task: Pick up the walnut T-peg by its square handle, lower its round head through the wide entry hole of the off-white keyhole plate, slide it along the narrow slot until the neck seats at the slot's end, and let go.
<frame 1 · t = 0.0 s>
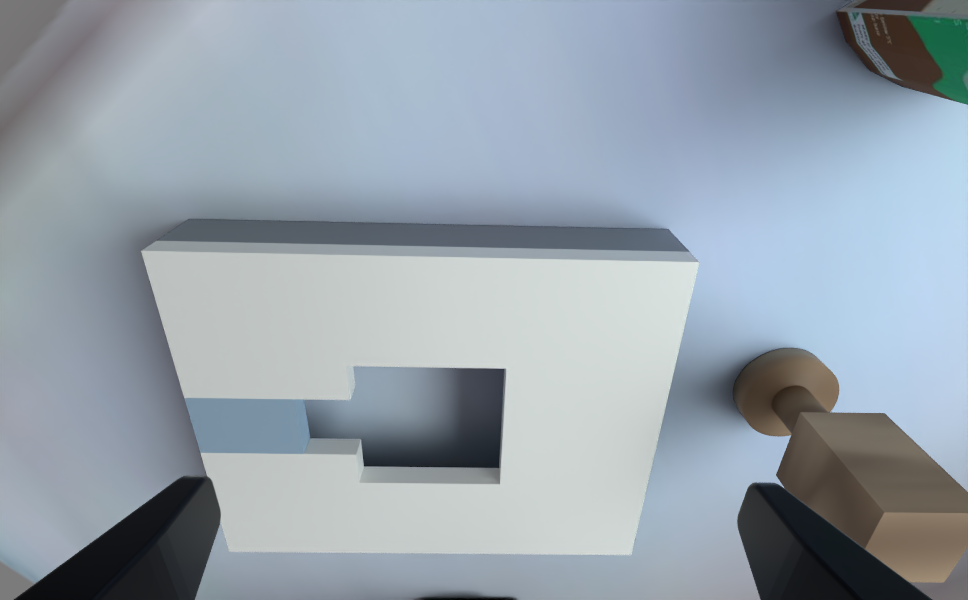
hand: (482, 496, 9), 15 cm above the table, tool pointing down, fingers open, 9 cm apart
keyhole plate: (434, 380, 26), on the table
T-peg: (778, 385, 26), on the table
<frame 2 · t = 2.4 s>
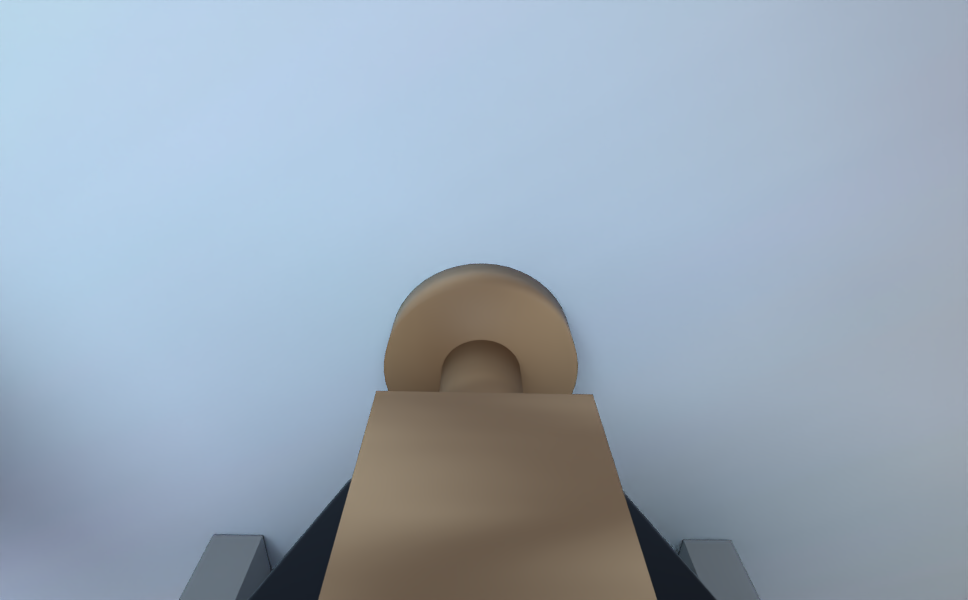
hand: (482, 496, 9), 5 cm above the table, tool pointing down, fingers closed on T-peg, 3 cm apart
T-peg: (480, 345, 13), on the table, touching gripper
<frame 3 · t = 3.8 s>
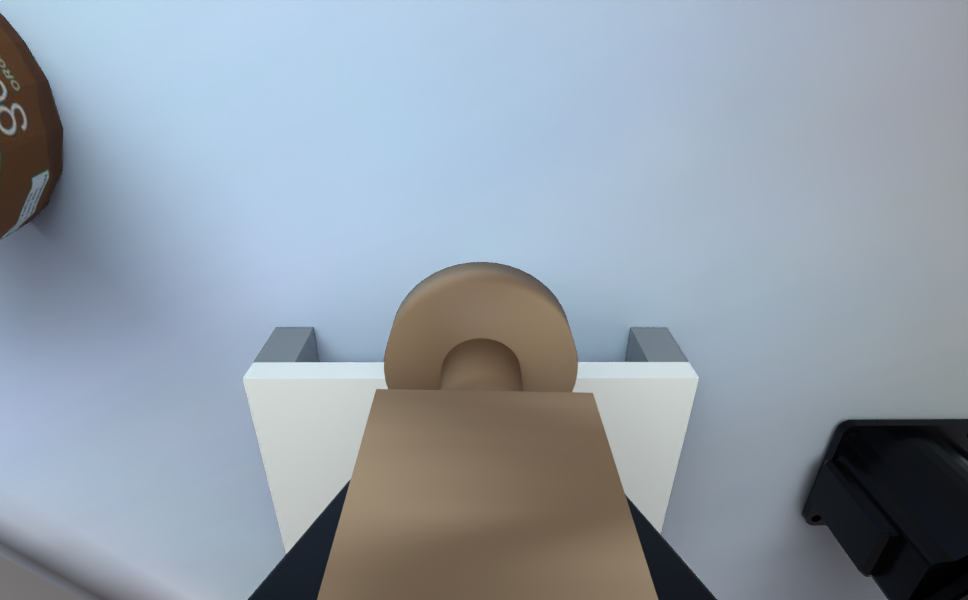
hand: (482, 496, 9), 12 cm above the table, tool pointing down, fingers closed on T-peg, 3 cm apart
keyhole plate: (472, 500, 26), on the table
T-peg: (480, 343, 13), point 8 cm above the table, touching gripper
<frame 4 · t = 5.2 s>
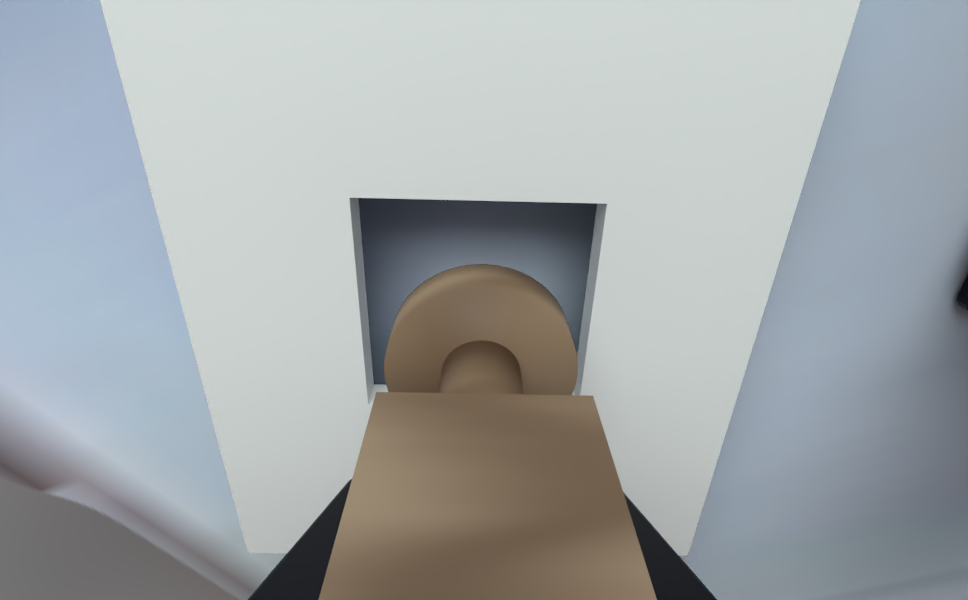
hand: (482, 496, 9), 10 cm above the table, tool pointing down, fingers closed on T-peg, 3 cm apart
keyhole plate: (476, 263, 18), on the table
T-peg: (480, 345, 13), point 5 cm above the table, touching gripper
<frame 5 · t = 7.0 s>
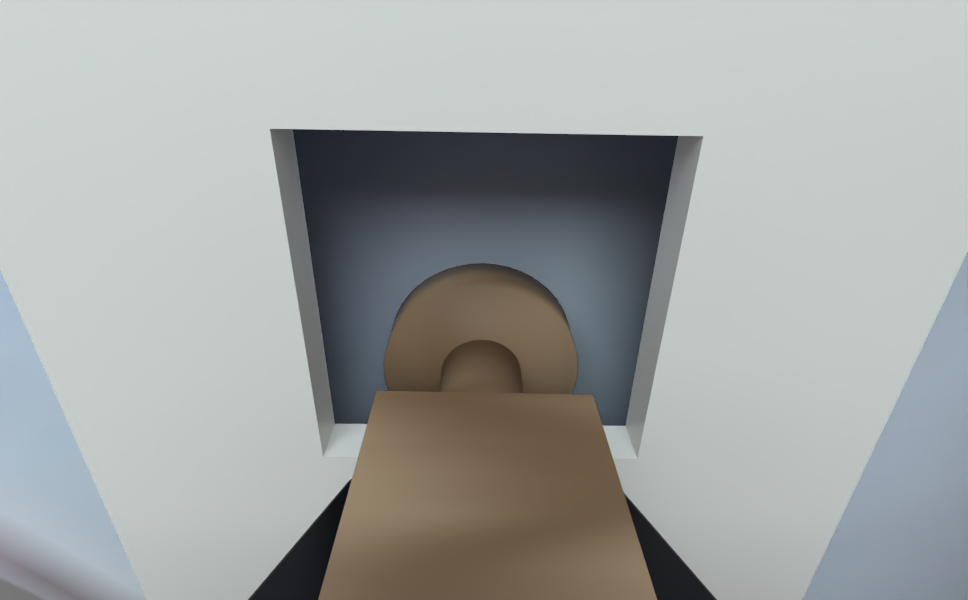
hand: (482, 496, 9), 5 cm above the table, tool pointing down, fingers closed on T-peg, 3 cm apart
keyhole plate: (482, 247, 12), on the table
T-peg: (480, 345, 13), on the table, touching gripper
when the fingers open (5 cm above the table, at t = 8.3 s): T-peg stays where it is, on the table.
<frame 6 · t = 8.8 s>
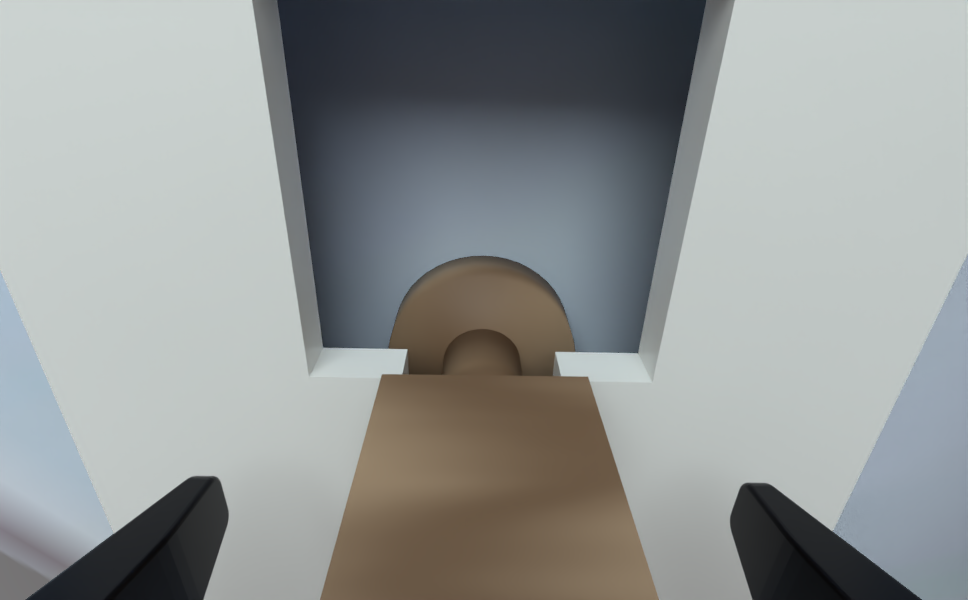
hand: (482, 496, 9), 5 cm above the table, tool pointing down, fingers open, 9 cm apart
keyhole plate: (484, 163, 11), on the table
T-peg: (481, 335, 13), on the table
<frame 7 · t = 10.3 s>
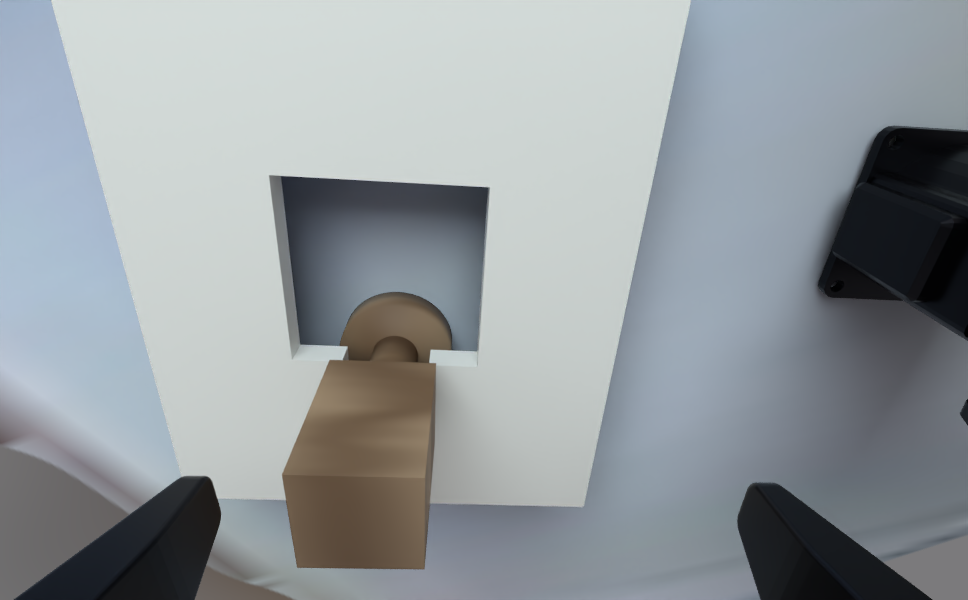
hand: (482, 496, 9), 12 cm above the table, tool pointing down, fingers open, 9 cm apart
keyhole plate: (396, 240, 20), on the table
T-peg: (399, 339, 22), on the table
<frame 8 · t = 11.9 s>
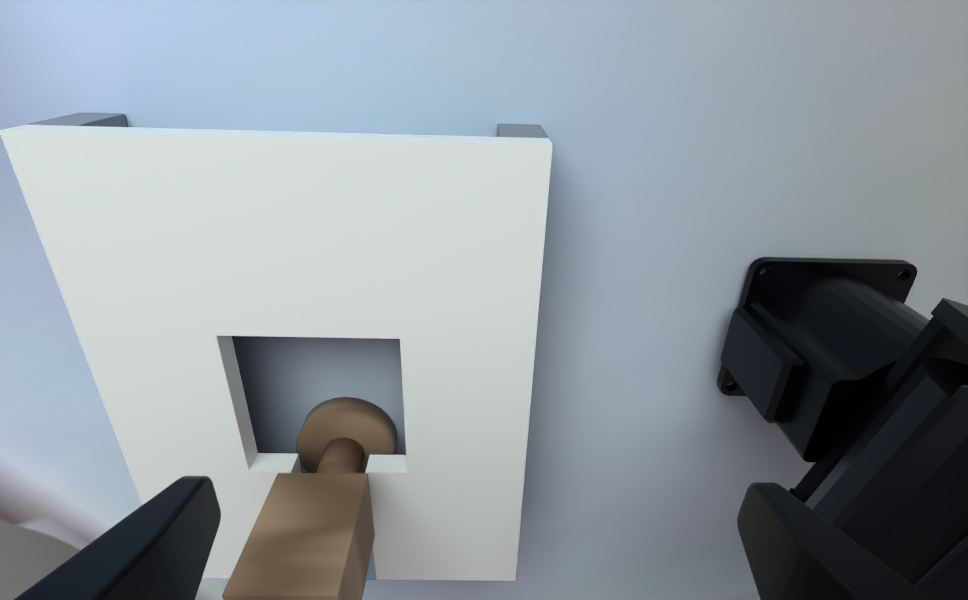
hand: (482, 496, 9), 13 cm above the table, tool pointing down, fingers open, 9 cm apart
keyhole plate: (340, 357, 23), on the table
T-peg: (350, 434, 25), on the table
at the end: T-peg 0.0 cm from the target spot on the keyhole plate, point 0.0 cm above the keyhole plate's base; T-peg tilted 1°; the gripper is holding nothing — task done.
